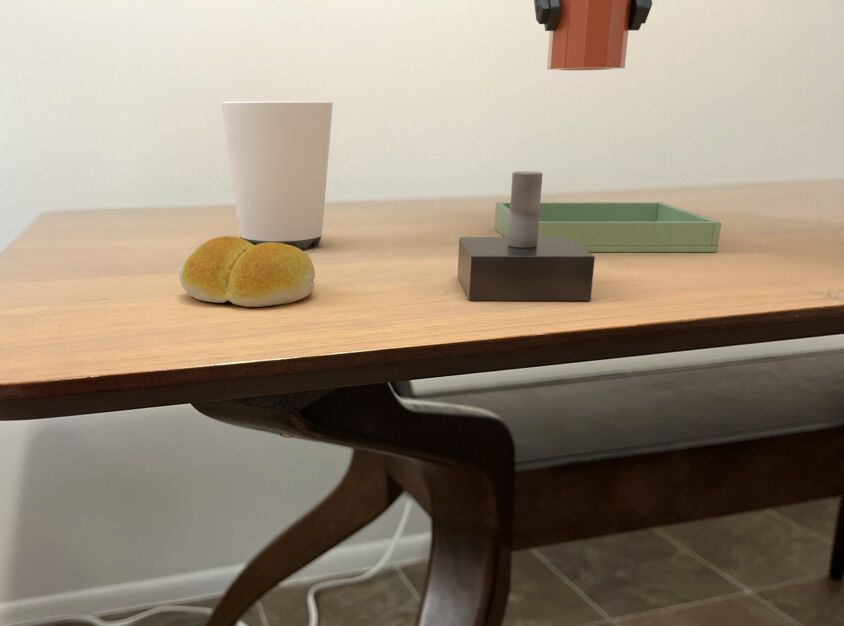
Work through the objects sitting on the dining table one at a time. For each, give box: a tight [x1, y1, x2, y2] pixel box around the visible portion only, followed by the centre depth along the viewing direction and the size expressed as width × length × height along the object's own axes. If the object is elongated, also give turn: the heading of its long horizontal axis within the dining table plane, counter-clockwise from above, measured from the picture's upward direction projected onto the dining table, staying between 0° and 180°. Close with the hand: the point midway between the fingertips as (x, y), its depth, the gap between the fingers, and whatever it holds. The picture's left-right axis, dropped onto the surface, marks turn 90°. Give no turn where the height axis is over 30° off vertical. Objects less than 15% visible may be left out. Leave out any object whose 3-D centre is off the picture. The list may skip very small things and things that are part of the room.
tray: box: [494, 201, 722, 253], centre depth 78 cm, size 17×15×3 cm
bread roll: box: [179, 235, 316, 308], centre depth 56 cm, size 8×9×4 cm
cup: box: [221, 100, 334, 251], centre depth 74 cm, size 10×10×13 cm
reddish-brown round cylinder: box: [546, 0, 632, 71], centre depth 64 cm, size 6×6×7 cm
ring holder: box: [457, 170, 596, 302], centre depth 56 cm, size 8×8×8 cm
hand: (595, 21), depth 62 cm, fingers closed on reddish-brown round cylinder, 6 cm apart
